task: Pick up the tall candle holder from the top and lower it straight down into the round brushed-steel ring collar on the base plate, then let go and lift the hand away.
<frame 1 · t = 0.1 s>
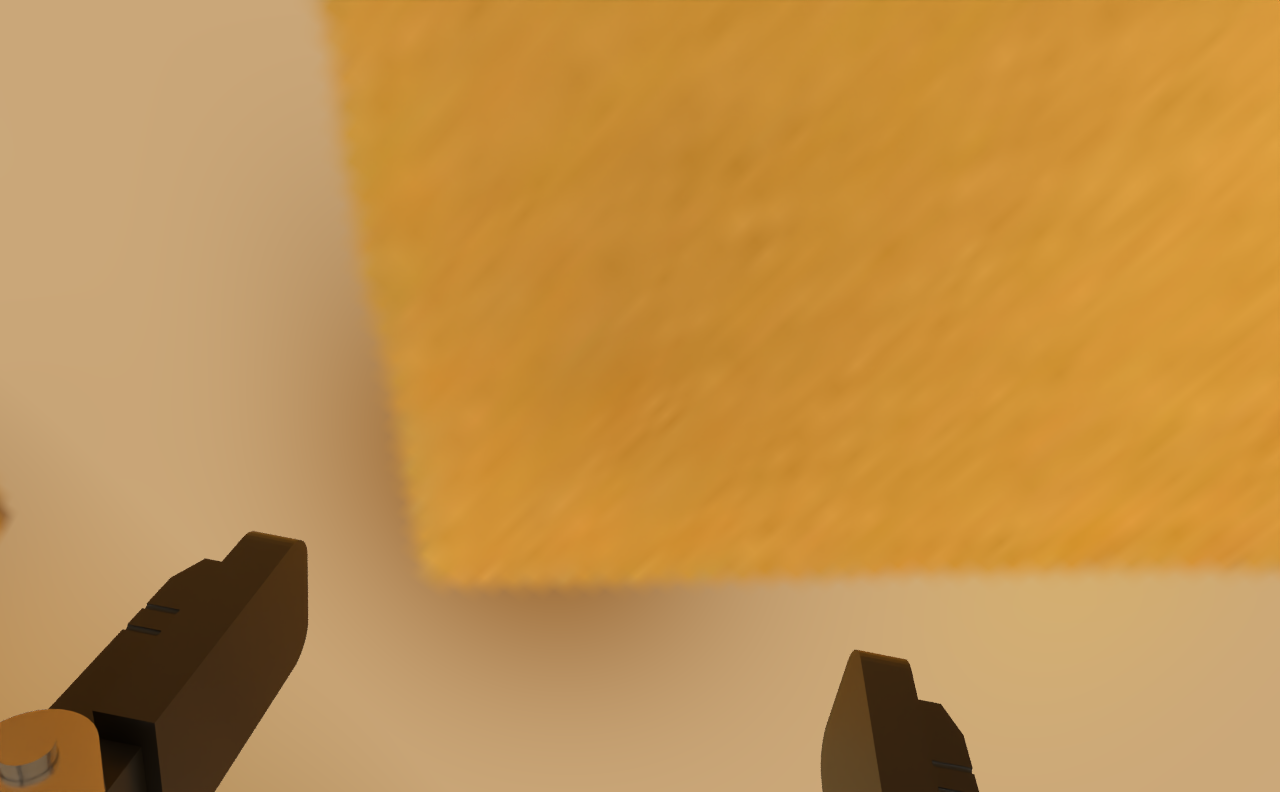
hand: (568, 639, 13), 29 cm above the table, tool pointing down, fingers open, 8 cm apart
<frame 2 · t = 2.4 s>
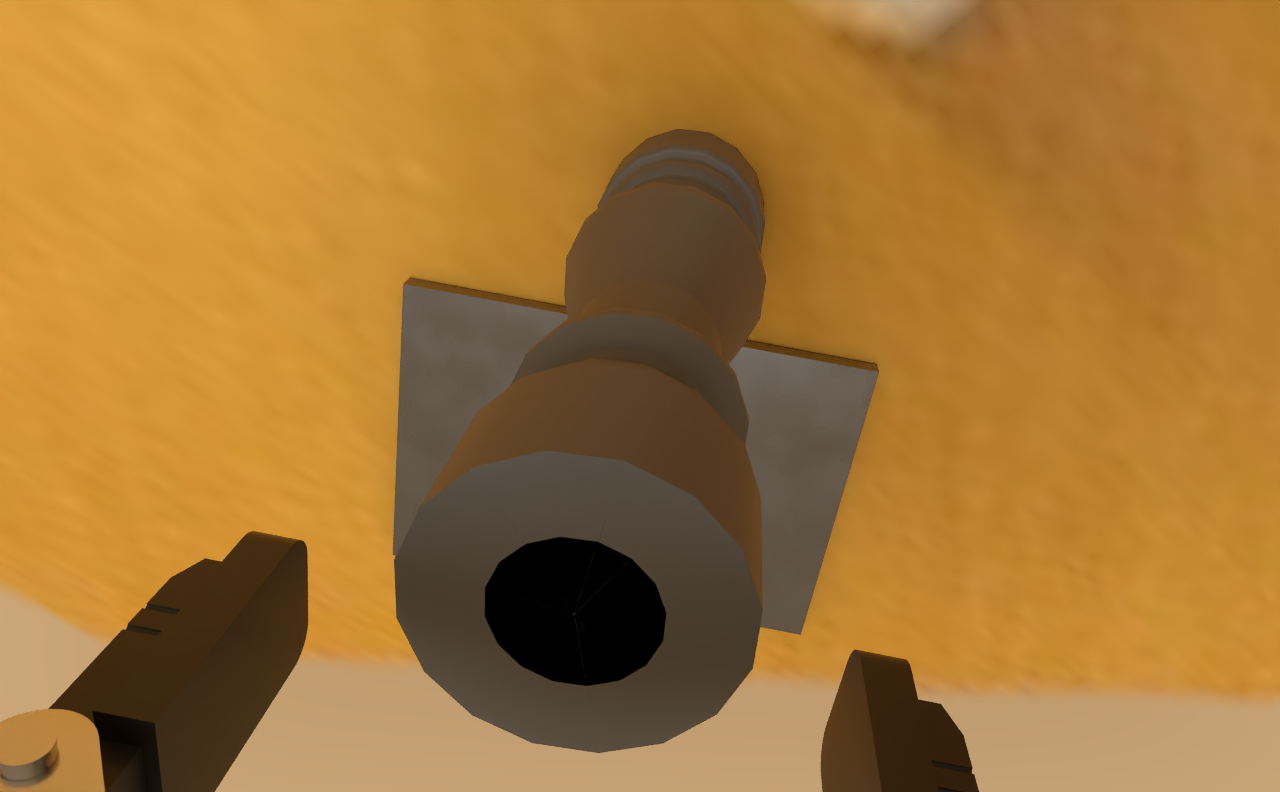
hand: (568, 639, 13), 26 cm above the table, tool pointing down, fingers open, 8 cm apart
steel collar: (617, 462, 42), on the table
candle holder: (685, 207, 36), on the table
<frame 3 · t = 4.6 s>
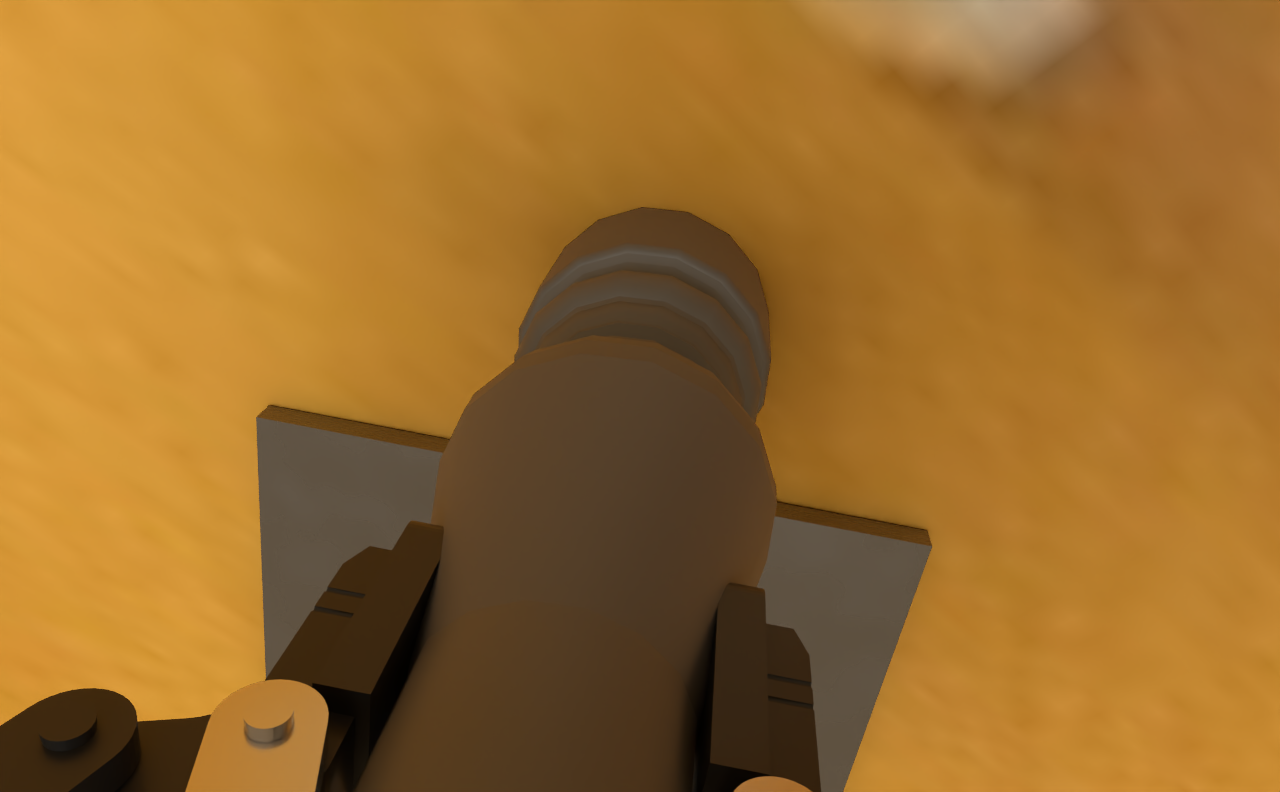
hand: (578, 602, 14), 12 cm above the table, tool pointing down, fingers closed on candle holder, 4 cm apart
steel collar: (567, 646, 30), on the table
candle holder: (655, 316, 25), on the table, touching gripper
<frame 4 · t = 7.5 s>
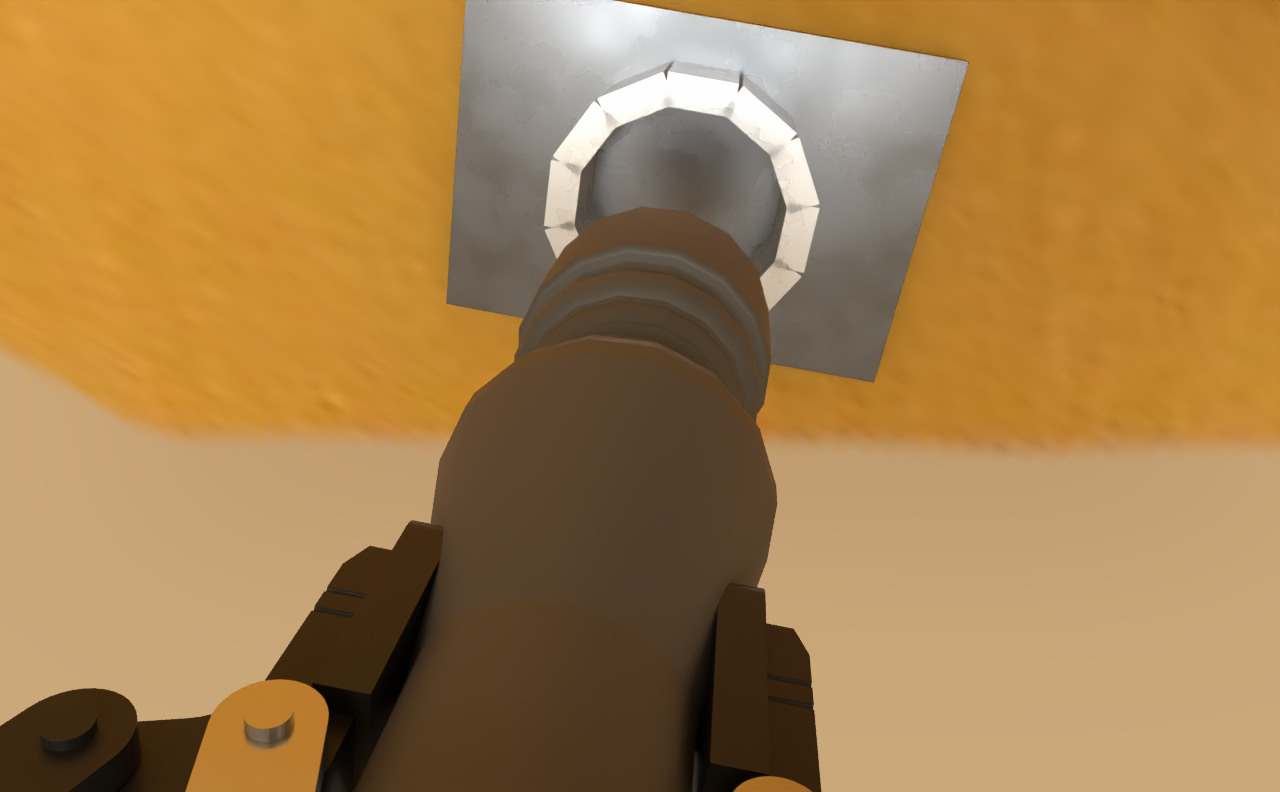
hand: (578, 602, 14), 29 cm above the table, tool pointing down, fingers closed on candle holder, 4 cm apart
steel collar: (686, 189, 40), on the table
candle holder: (655, 315, 25), point 16 cm above the table, touching gripper
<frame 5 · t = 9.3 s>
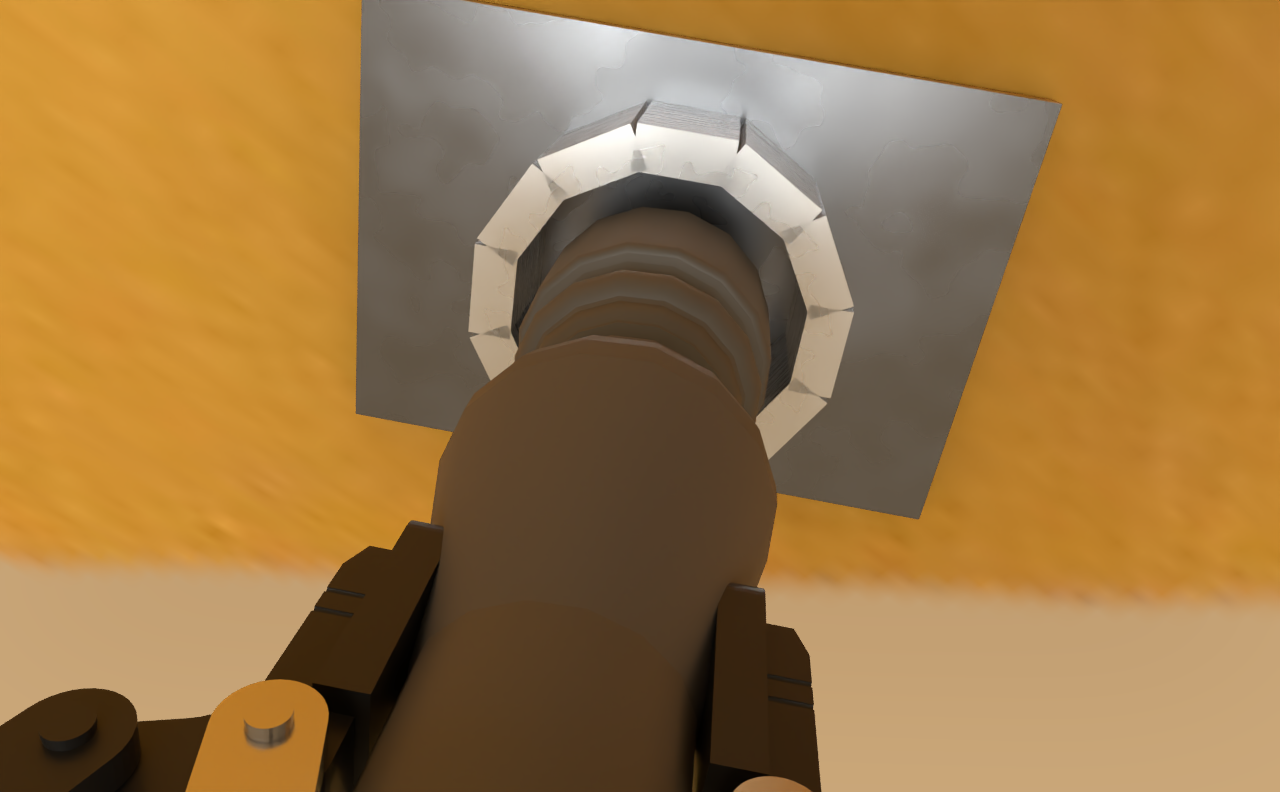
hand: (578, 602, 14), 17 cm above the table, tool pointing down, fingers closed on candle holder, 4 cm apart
steel collar: (669, 269, 30), on the table
candle holder: (655, 315, 25), point 5 cm above the table, touching gripper
when the fingers open (15 cm above the table, at t = 10.8 s): candle holder stays where it is, resting on steel collar.
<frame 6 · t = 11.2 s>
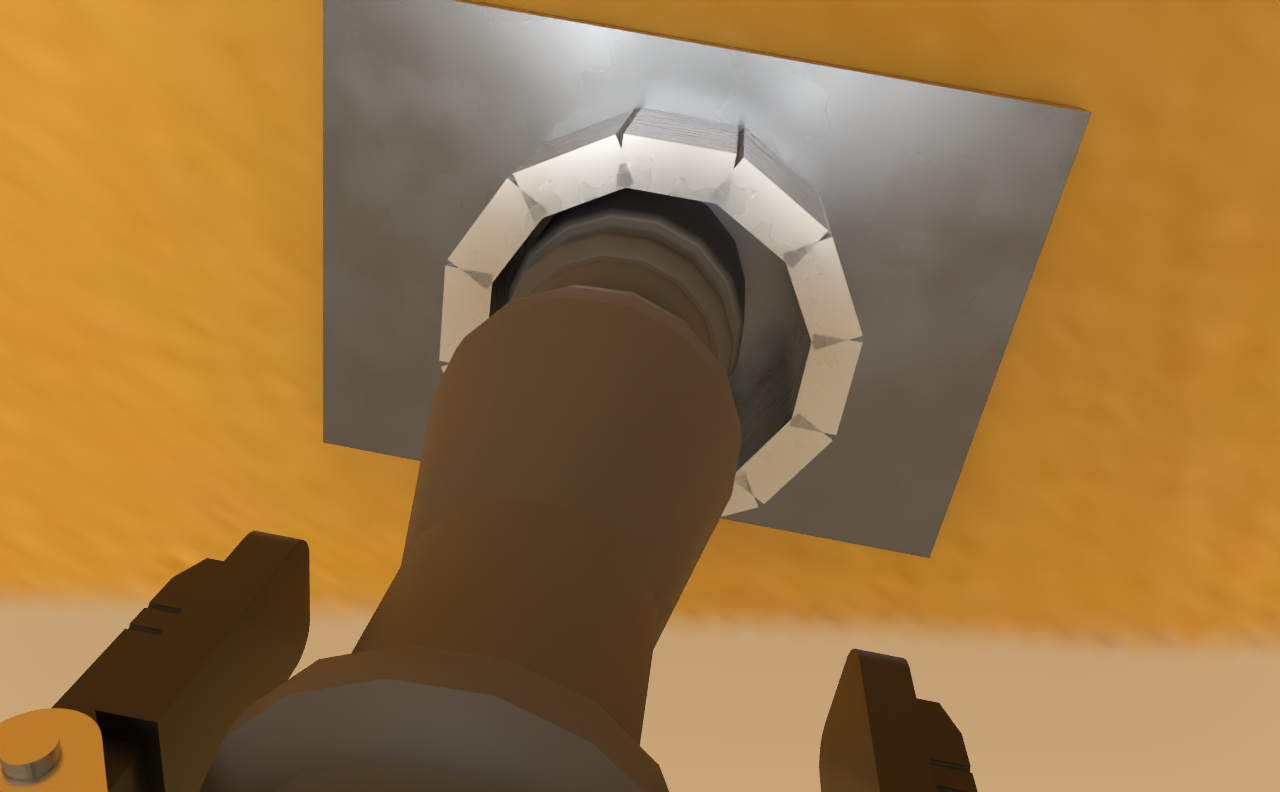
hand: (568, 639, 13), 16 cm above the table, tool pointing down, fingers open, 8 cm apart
steel collar: (660, 289, 27), on the table
candle holder: (638, 283, 27), point 1 cm above the table, touching steel collar
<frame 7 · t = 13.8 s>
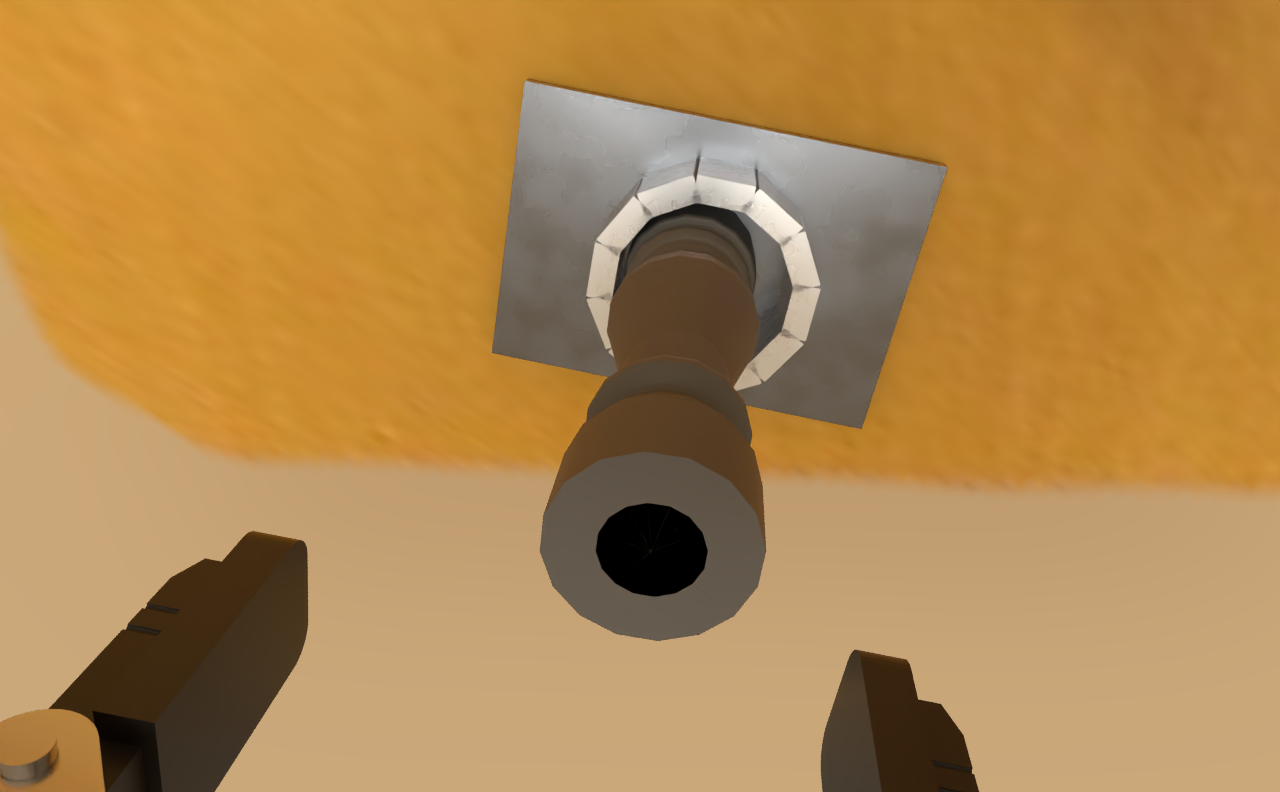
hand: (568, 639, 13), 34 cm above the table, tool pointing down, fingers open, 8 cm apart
steel collar: (704, 261, 46), on the table
candle holder: (692, 257, 46), point 1 cm above the table, touching steel collar
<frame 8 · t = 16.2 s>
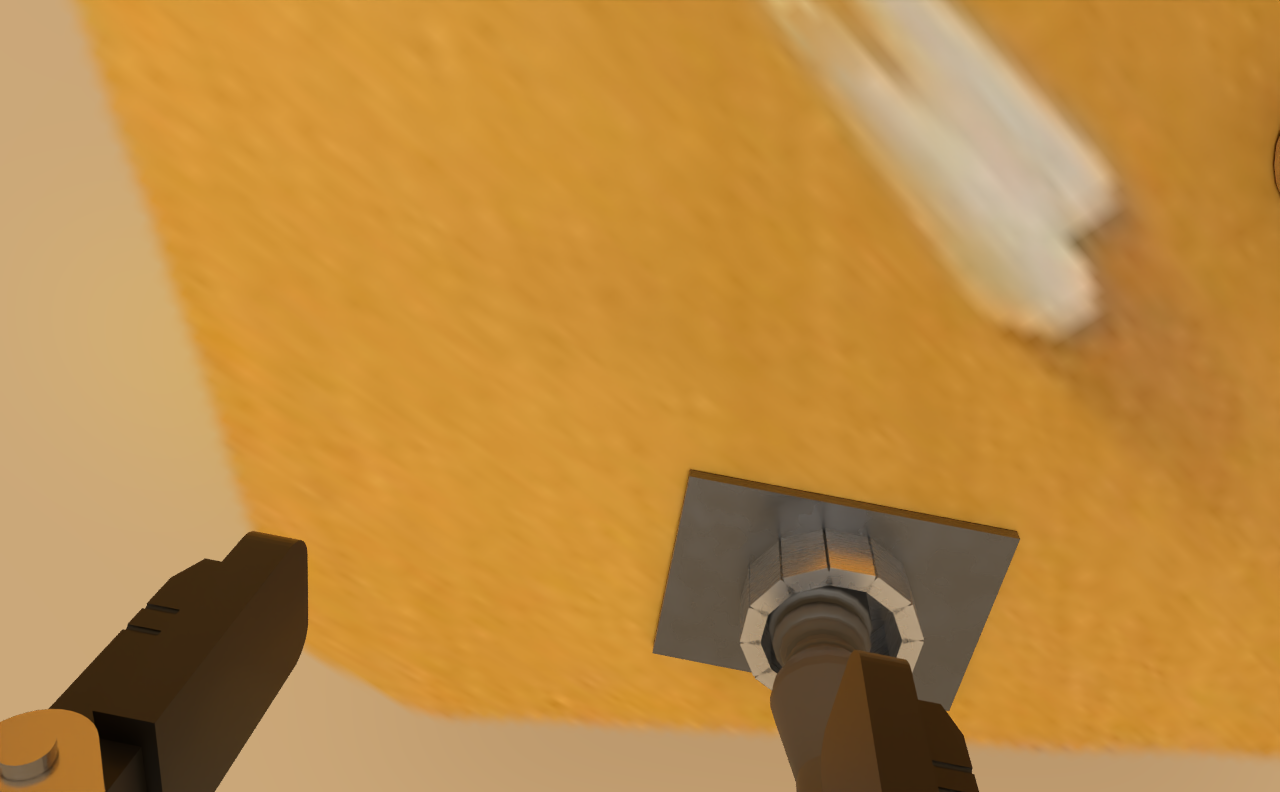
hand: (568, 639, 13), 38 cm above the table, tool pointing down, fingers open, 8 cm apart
steel collar: (824, 591, 59), on the table
candle holder: (816, 592, 58), point 1 cm above the table, touching steel collar
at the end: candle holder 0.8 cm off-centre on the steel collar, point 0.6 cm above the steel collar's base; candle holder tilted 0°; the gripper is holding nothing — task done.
